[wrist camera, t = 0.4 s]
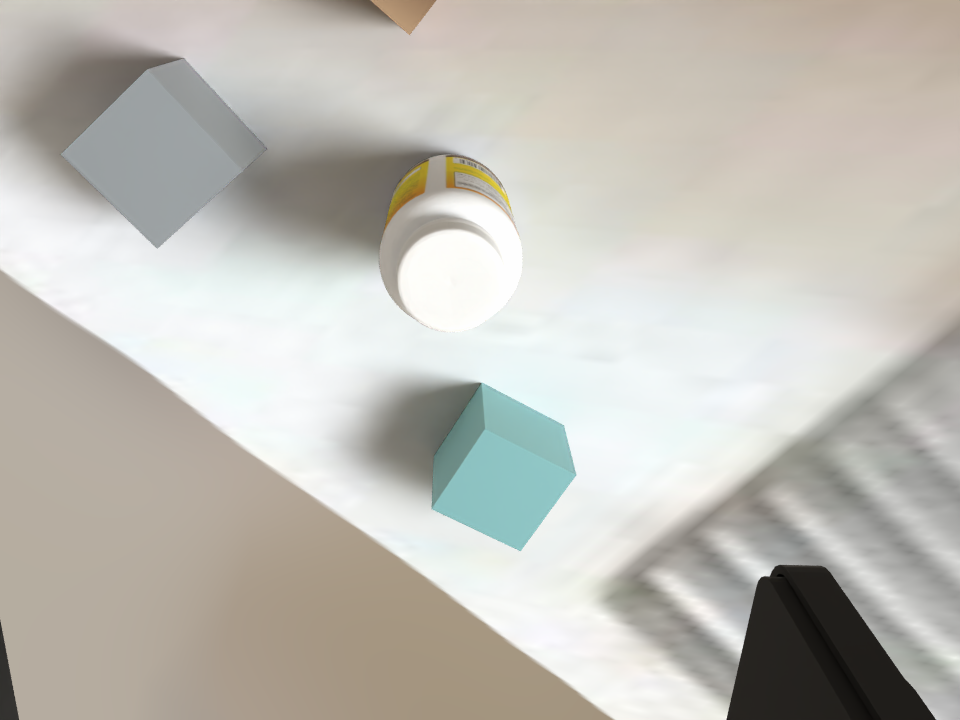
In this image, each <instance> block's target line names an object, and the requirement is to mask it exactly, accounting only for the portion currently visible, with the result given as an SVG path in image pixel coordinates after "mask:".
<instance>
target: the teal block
mask: <svg viewBox="0 0 960 720" xmlns="http://www.w3.org/2000/svg"><path fill="white" fill-rule="evenodd" d="M575 476H576V472H575V468H574V464H573V460H572V456H571V452H570V448H569V444H568V440H567V436H566V432H565V428H564V425H562V424H560V423H558V422H556V421H554V420H553V419H551V418H549V417H547V416H545V415H543V414H541V413H539V412H537V411H535V410H533V409H531V408H530V407H528V406H526V405H524V404H522V403H520V402H518V401H516V400H514V399H512V398H510V397H508V396H507V395H505V394H503V393H501V392H499V391H497V390H495V389H493V388H491V387H489V386H487V385H485V384H484V383H481V385H480V386H479V388H478V389H477V391H476V392H475V394H474V395H473V397H472V398H471V400H470V401H469V403H468V405H467V406H466V408H465V409H464V411H463V412H462V414H461V415H460V417H459V418H458V420H457V421H456V423H455V425H454V426H453V428H452V429H451V431H450V432H449V434H448V435H447V437H446V438H445V440H444V441H443V443H442V445H441V446H440V448H439V449H438V451H437V452H436V454H435V455H434V461H433V486H432V509H433V510H435V511H437V512H439V513H441V514H443V515H445V516H447V517H450V518H452V519H454V520H456V521H458V522H460V523H462V524H464V525H466V526H469V527H471V528H473V529H475V530H477V531H479V532H481V533H483V534H485V535H487V536H490V537H492V538H494V539H496V540H498V541H500V542H502V543H504V544H506V545H509V546H511V547H513V548H515V549H517V550H519V551H521V550H522V548H523V547H524V546H525V544H526V543H527V542H528V540H529V539H530V538H531V536H532V535H533V533H534V532H535V531H536V529H537V528H538V527H539V525H540V524H541V523H542V521H543V520H544V518H545V517H546V516H547V514H548V513H549V512H550V510H551V509H552V507H553V506H554V505H555V503H556V502H557V501H558V499H559V498H560V497H561V495H562V494H563V492H564V491H565V490H566V488H567V487H568V486H569V484H570V483H571V482H572V480H573V479H574V477H575Z"/></svg>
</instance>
